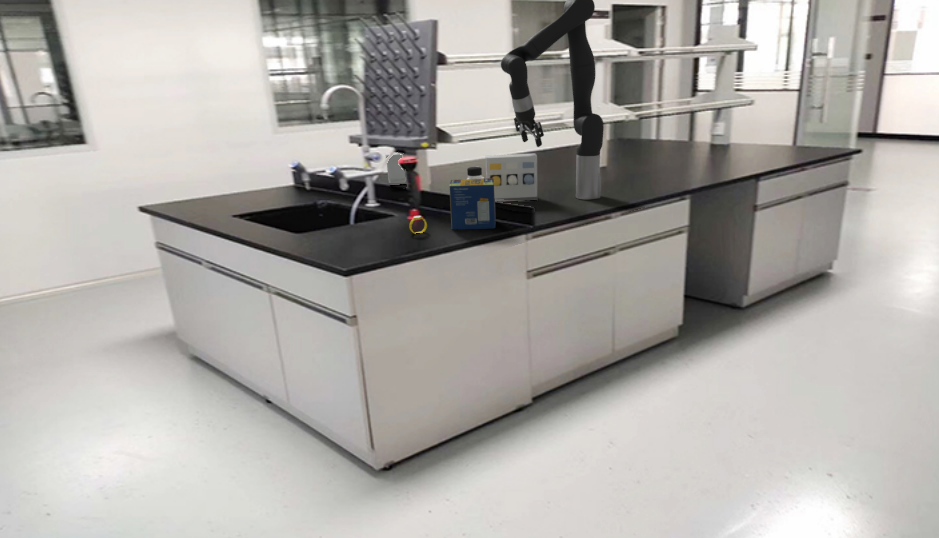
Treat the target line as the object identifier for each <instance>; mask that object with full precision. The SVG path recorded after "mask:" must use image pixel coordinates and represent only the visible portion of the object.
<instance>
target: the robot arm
mask: <svg viewBox="0 0 939 538" xmlns="http://www.w3.org/2000/svg"><path fill="white" fill-rule="evenodd" d="M595 9H596V7H595V2H594V0H566V1H565V3H564V5H563V11H562V12H563V13H562V14H560V16H559V17H558V18H557V19H555V20H554V21H552V22H551V23H549V24H548V25H546V26H544V27H543V28H542V29H540V30H538V31H537V32H536V33H535V34H533V35H532V36H531V37H530V38H528V40H527V41H525V42H524V43H523V44H520V45H519V46H517V47H515V48H514V49H512V50H510V51H509V52H507V53H506V54H505V55H504V56H503V58H502V59H501V62H500V68H501V70H502V71H503V72H504V73H506V74H508V75H509V76H510V79H511V81H510V82H509V86H508V88H509V93H510V96H511V102H512V103H511V104H512V108H513V110H514V111H513V112H514V115H515V117H514V118H513V121H514V122H513V123H514V126H515V131H516V132H518V133H519V135H521V139H522V142H523V143H526V142H528V140H529V137H528V133H527V132H529V134H530V135H532V137H534V141H535V146H536V147H537V148H540V147H541V146H542V145H543V142H542V137H544V136H545V134H544V131H543V125H542V123H541V122H540V121H538V122H536V121H535V117H536V111H535V107H534V102H533V99H532V96H531V93H530V88H529V85H528V83H529V82H528V78H529V77H528V66H527V63H526V62H529V61H531V62H532V61H535V60H536V59H538V58H539V57H540V56H541V55H543V54H544V53H545V52H546V51H547V50H549V48H550V47H552V46H553V45H554V44H555V43H556V42H558V41H559V40H560V39H561V38H563V37H564V36H565V35H567V40H568V41H567V42H568V45H567V46H568V54H569V69H570V70H569V71H570V77H571V78H570V79H571V87H572V98H573V129H574V131H575V133H576V134H577V135H578V136H581V141H580V145H579V146H578V147H576V166H575V167H576V168H575V169H576V170H575V171H576V172H575V173H576V174H575V175H576V176H575V197H576V198H577V199H580V200H596V199H601V189H602V187H601V185H602V181H601V180H602V175H601V174H602V173H600V171H601V150H602V148H603V143H604V132H605V131H604V128H605V127H604V121H603V118H602V116H600V115H599V114H597V113H593V110H592V94H593V89H594V86H595V83H596V82H595V81H596V62H595V57H594V56H595V55H594V53H593V50H592V48H591V46H590V43H589V40H588V38H587V36H588V35H587V31H586V28H587V27H586V22H587V21H589V20H590V19H591V18H592V16H593V15H594V14H595Z"/></svg>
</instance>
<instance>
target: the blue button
mask: <svg viewBox="0 0 939 538" xmlns="http://www.w3.org/2000/svg"><path fill="white" fill-rule="evenodd" d="M524 181H525V183H526V184H527V185H531V184H532V183H533V182H534V178H533V177H532V175H531V174H525V175H524Z"/></svg>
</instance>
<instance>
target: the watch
mask: <svg viewBox="0 0 939 538" xmlns="http://www.w3.org/2000/svg"><path fill="white" fill-rule="evenodd" d="M412 217H413V218H412V219H411V220H410V222H409V227H408V228H409V230H410V232H412V234H414V235H417V234H416V233H420V234H424V233H425V232H426V230H427V228H428V224H427V220H426V219H425V218H423V217H422V215H414V216H412ZM417 220H422V221H423V222H424V225H423V229H422V230H421V231H416V232H415V231H414V230H413V229H412V228H413V224H414V222H415V221H417ZM423 232H424V233H423Z"/></svg>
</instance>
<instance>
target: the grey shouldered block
mask: <svg viewBox="0 0 939 538" xmlns="http://www.w3.org/2000/svg"><path fill="white" fill-rule="evenodd" d="M390 153H391V152H389V153H385V159H386V158H387V157H388V156H389V155H390ZM394 153H395V154H394V155H393V156H392V157H391V158H390V159H389V161H388V163H386V169H387V178H388V179H387V180H388V184H389V183H405V182H406V180H407V176H406V177H405V172H404V171H403V170H402V169H401V167H400V166H399V165H398V160H399V159H400V158H402V155H400V154H397V153H398V152H394Z"/></svg>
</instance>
